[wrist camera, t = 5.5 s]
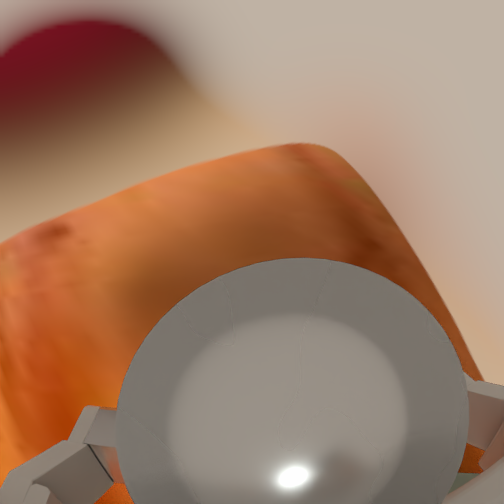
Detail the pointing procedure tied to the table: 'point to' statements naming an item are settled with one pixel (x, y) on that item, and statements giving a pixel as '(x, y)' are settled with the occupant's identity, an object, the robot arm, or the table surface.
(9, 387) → the table surface
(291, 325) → the metal peg
